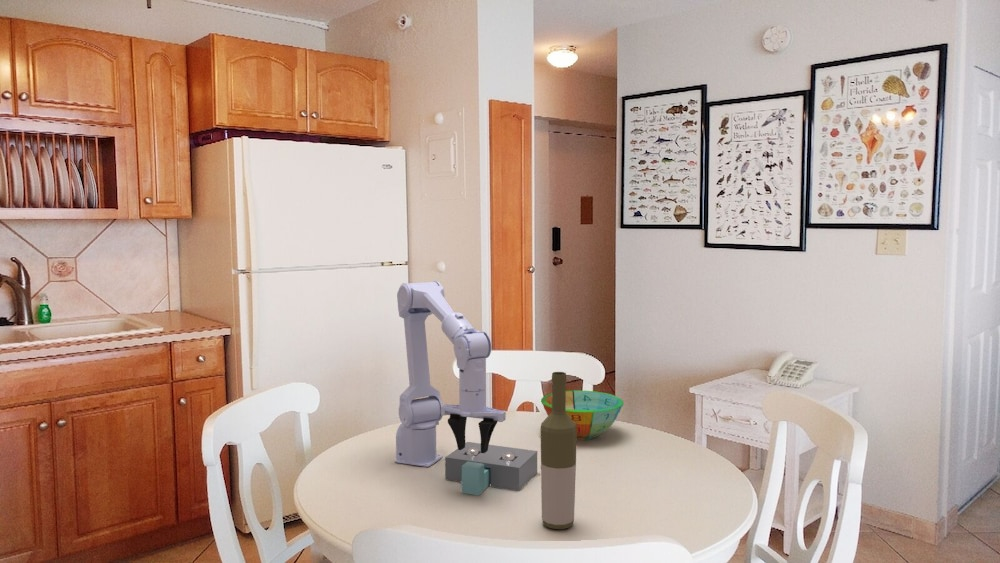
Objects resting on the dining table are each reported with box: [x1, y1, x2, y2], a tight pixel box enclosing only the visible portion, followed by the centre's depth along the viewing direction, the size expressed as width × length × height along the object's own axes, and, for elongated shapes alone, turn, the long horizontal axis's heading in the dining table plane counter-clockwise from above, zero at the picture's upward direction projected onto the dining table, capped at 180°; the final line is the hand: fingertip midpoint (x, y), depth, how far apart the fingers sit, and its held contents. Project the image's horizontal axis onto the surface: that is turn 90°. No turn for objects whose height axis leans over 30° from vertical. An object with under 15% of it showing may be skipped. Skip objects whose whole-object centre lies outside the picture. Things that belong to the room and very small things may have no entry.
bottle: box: [540, 371, 577, 530], centre depth 138 cm, size 7×7×30 cm
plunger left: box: [466, 447, 478, 456], centre depth 165 cm, size 3×3×3 cm
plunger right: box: [502, 452, 515, 461], centre depth 162 cm, size 3×3×3 cm
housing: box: [444, 441, 538, 492], centre depth 165 cm, size 18×12×5 cm, turn 68°
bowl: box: [540, 390, 625, 441], centre depth 194 cm, size 22×22×10 cm
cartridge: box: [461, 461, 491, 496], centre depth 160 cm, size 4×15×6 cm, turn 158°
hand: (472, 450), depth 154 cm, fingers open, 5 cm apart
